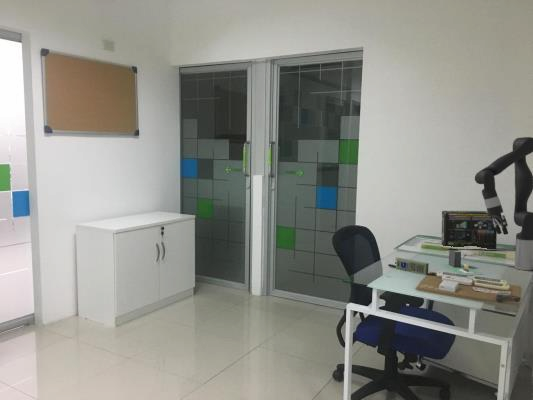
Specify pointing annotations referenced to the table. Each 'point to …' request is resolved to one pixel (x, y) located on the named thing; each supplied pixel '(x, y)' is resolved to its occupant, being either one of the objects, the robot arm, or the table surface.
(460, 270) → the pale green flat block
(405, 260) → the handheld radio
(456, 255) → the block
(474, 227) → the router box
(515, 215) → the robot arm
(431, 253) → the table surface
